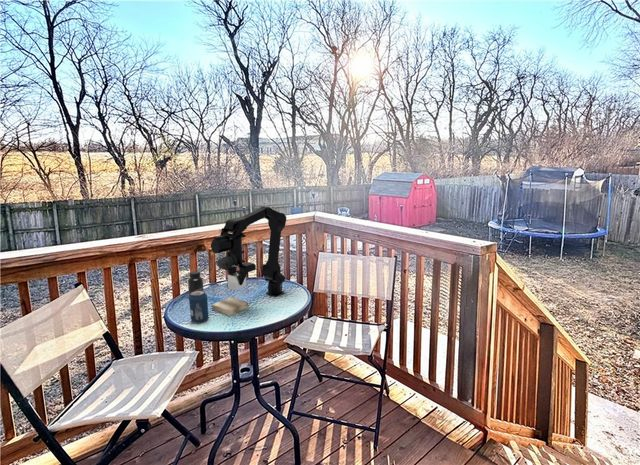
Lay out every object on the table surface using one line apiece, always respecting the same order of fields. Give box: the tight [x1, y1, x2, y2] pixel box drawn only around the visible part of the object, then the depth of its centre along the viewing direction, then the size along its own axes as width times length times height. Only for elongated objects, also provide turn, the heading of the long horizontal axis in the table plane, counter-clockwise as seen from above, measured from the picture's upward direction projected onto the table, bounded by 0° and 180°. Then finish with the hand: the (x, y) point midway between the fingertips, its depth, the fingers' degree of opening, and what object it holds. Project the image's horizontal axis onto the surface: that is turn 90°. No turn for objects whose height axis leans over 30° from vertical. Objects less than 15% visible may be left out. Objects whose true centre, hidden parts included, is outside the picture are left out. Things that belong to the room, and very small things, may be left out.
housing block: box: [227, 272, 247, 291], centre depth 163 cm, size 6×5×6 cm
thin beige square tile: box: [211, 296, 250, 317], centre depth 165 cm, size 11×11×2 cm
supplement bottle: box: [187, 270, 205, 298], centre depth 179 cm, size 7×7×12 cm
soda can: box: [188, 290, 210, 324], centre depth 153 cm, size 7×7×12 cm
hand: (237, 283), depth 163 cm, fingers closed on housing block, 5 cm apart
